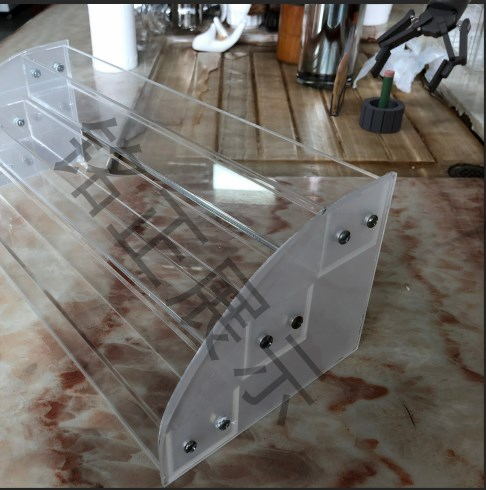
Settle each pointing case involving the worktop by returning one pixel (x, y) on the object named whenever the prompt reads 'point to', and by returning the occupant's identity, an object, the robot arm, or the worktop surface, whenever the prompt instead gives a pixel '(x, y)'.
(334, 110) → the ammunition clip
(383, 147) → the worktop surface
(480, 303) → the worktop surface
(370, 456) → the worktop surface
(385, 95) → the pencil
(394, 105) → the grooved round container
